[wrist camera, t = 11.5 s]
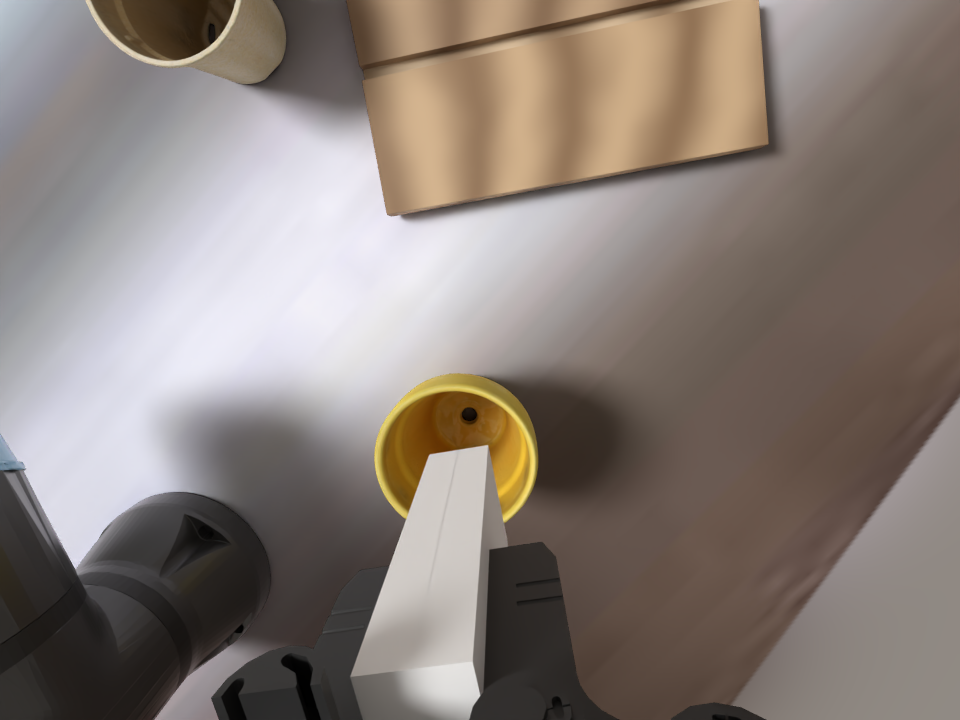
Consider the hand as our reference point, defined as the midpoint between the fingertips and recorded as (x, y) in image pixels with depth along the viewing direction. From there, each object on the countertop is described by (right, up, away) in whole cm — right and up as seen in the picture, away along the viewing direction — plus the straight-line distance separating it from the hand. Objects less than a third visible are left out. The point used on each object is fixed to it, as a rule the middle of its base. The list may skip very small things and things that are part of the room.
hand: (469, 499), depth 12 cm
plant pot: (-1, -1, +28) cm, 28 cm away
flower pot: (-16, +26, +23) cm, 39 cm away
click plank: (+6, +20, +22) cm, 30 cm away
